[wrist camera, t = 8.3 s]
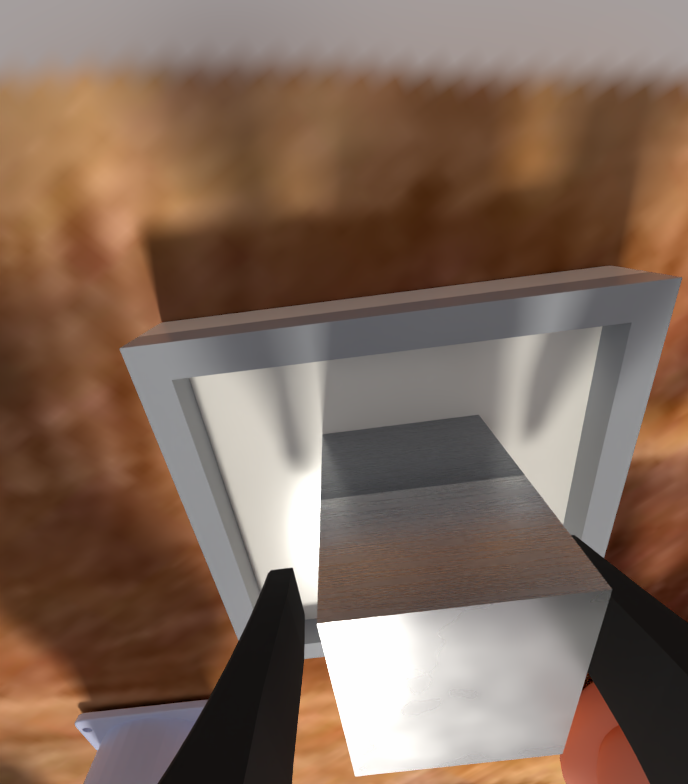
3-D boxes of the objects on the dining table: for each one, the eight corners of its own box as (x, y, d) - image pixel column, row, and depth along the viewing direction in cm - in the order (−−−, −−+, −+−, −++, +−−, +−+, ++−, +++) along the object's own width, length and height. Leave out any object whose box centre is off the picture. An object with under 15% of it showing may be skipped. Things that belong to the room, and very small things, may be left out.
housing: (472, 548, 14) (562, 753, 9) (345, 563, 14) (355, 776, 9) (478, 414, 11) (612, 588, 6) (322, 434, 12) (316, 623, 6)
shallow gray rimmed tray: (550, 574, 17) (584, 627, 15) (259, 607, 17) (248, 664, 15) (610, 265, 11) (682, 277, 9) (161, 322, 11) (119, 348, 9)
